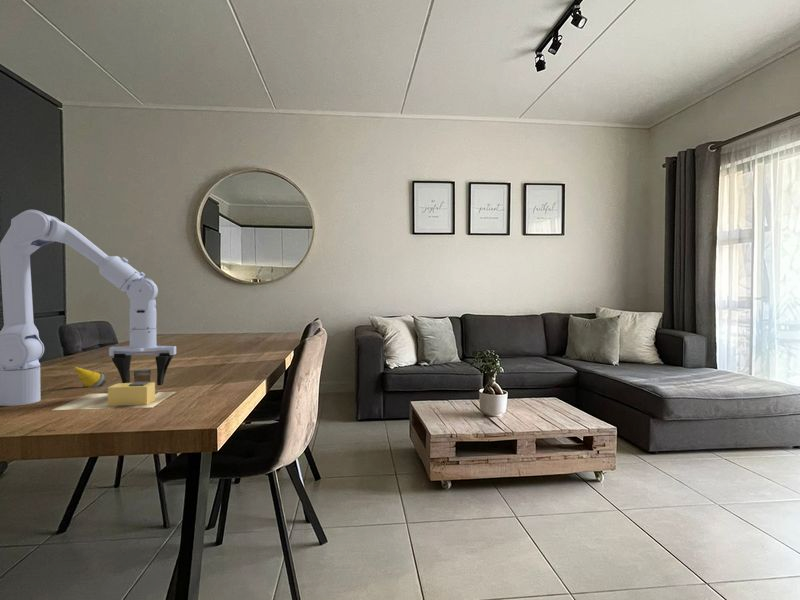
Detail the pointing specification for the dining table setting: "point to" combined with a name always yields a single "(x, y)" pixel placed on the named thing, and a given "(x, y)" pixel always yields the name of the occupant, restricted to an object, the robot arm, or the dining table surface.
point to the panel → (102, 402)
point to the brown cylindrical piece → (142, 375)
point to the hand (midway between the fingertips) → (143, 385)
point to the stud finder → (131, 393)
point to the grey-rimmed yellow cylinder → (90, 378)
